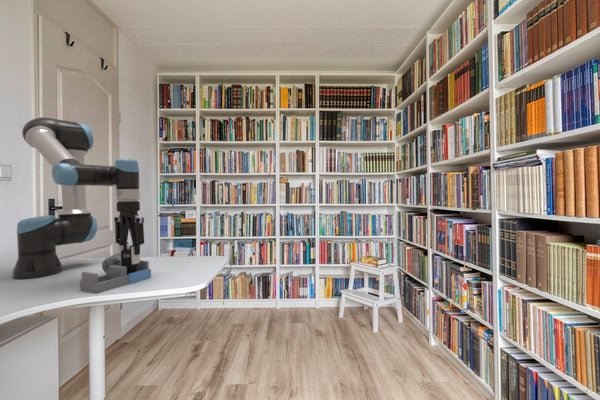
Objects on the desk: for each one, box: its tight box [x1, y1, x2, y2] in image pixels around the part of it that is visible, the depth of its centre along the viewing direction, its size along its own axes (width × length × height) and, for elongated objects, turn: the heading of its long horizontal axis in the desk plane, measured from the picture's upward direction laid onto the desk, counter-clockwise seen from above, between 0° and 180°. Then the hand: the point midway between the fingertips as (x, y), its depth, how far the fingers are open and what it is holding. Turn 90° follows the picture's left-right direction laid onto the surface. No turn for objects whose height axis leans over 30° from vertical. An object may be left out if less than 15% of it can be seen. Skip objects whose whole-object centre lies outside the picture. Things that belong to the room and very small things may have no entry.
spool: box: [101, 252, 121, 275], centre depth 122 cm, size 14×10×10 cm
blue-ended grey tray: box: [79, 260, 152, 294], centre depth 107 cm, size 10×20×6 cm, turn 155°
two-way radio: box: [121, 236, 137, 275], centre depth 112 cm, size 6×4×15 cm
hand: (130, 262), depth 112 cm, fingers closed on two-way radio, 5 cm apart
